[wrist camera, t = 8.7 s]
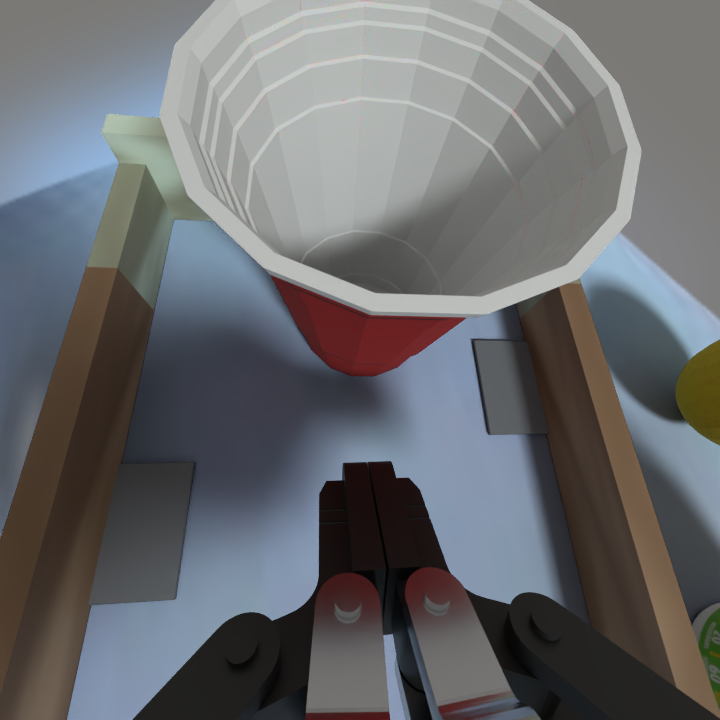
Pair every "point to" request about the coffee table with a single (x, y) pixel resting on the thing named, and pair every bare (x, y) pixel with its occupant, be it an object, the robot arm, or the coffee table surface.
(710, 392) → the lemon
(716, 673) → the supplement bottle
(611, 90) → the plastic cup
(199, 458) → the coffee table surface
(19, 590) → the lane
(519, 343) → the pads
